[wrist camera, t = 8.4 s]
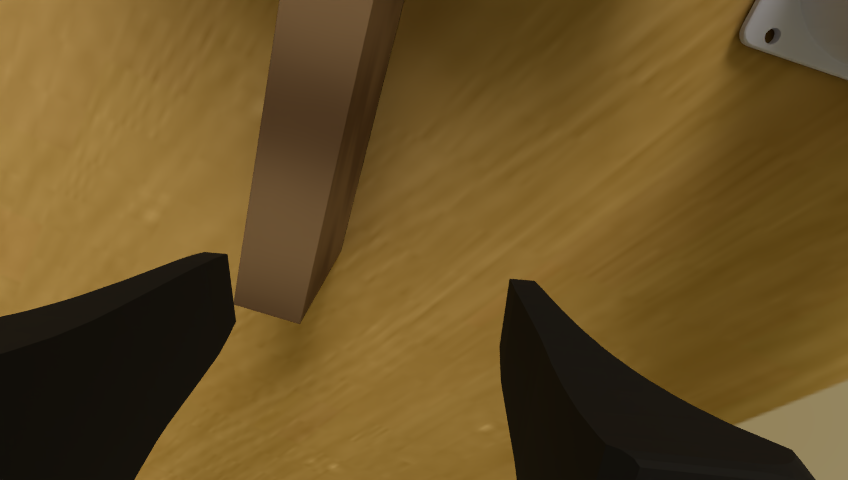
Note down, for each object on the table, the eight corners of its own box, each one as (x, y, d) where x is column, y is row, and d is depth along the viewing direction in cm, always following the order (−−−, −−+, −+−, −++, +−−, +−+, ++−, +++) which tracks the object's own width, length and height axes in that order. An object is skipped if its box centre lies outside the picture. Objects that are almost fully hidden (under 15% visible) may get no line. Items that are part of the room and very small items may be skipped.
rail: (343, 251, 22) (302, 324, 17) (289, 235, 22) (230, 303, 17) (458, -204, 15) (453, -331, 10) (380, -231, 15) (331, -376, 10)
